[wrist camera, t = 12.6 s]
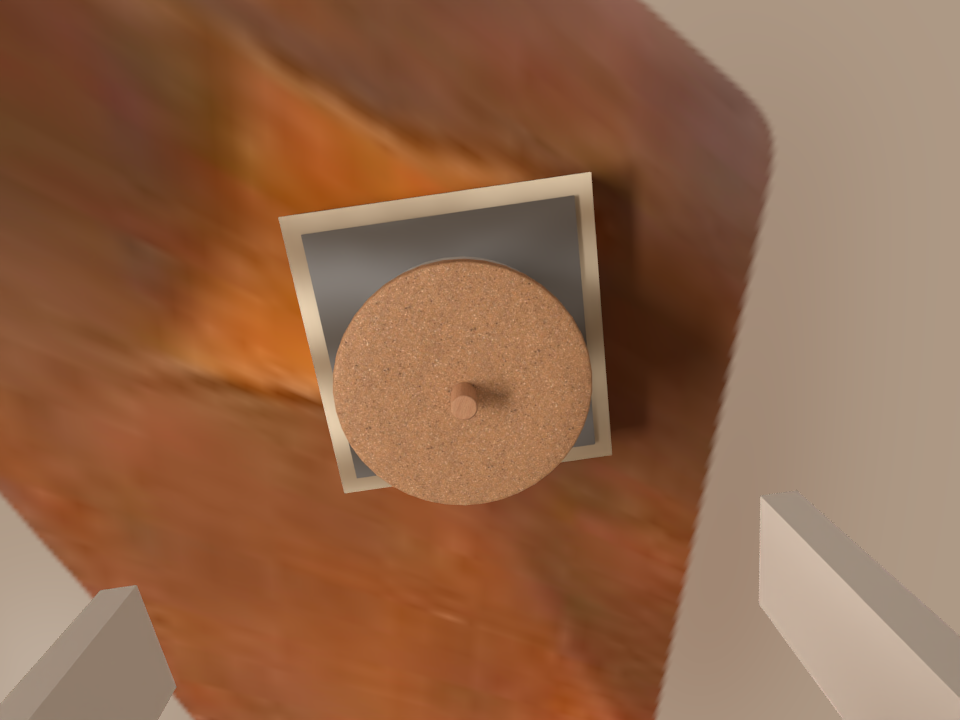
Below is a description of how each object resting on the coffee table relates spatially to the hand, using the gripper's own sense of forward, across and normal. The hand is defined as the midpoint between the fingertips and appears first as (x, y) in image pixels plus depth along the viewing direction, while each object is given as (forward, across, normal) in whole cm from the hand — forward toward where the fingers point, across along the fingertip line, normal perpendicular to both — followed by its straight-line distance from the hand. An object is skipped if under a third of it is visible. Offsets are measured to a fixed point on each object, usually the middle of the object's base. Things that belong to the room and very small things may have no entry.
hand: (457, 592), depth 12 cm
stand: (+23, 0, 0) cm, 23 cm away
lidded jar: (+20, 0, 0) cm, 20 cm away
